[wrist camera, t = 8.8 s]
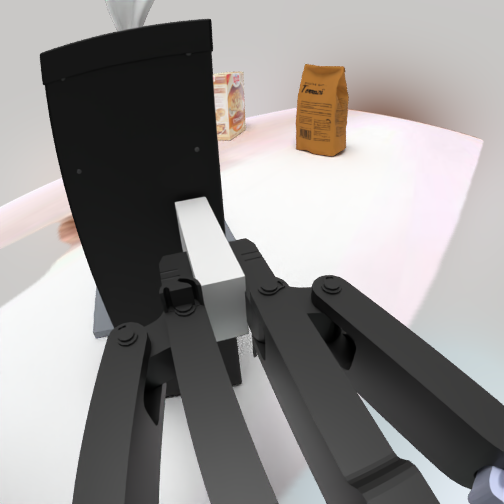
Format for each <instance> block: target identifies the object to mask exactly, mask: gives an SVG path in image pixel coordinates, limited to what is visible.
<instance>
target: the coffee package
mask: <svg viewBox="0 0 504 504" xmlns="http://www.w3.org/2000/svg"><path fill="white" fill-rule="evenodd" d="M344 72H345V68H344V67H343V66H342V67H340V66H315V65H309V64H305V67H304V71H303V74H302V80H301V84H300V89H299V93H298V100H297V115H296V149H297V150H307V151H309V152H311V153H313V154H318V155H326V156H334V155H336V154H337V153H339V152H340V151H342V150H345V148H346V125H347V114H348V98H349V97H348V92H347V87H346V86H347V85H346V81H345V73H344Z"/></svg>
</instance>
